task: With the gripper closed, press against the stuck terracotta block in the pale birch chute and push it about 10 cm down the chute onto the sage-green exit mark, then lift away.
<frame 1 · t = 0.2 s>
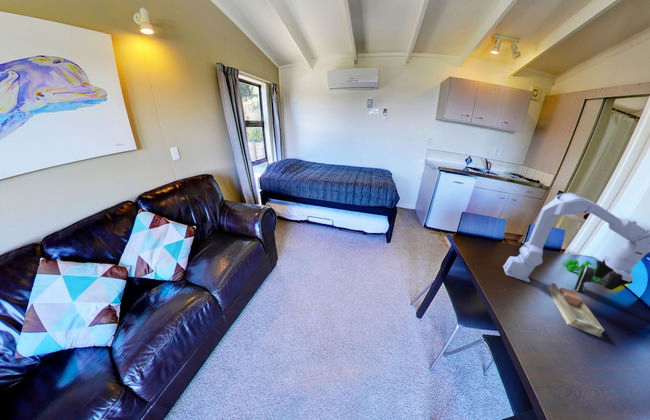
hand: (602, 282, 88), 10 cm above the table, fingers open, 7 cm apart
chute: (570, 309, 86), on the table
jammed block: (569, 296, 89), point 3 cm above the table, slide at 0.0 cm
green irregular lump: (580, 272, 110), on the table
battery charger: (580, 289, 97), on the table
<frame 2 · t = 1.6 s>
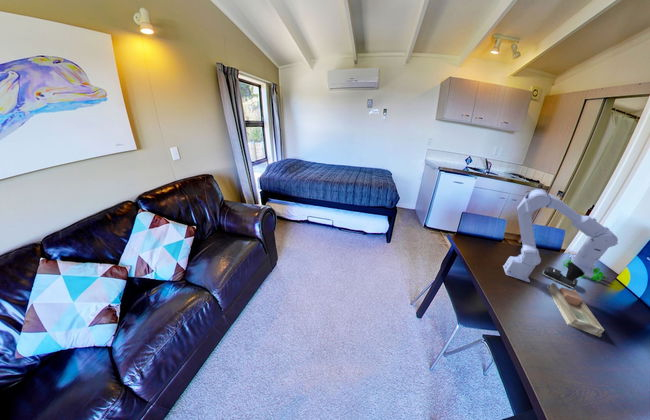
hand: (569, 279, 92), 8 cm above the table, fingers closed
battery charger: (577, 284, 98), point 2 cm above the table
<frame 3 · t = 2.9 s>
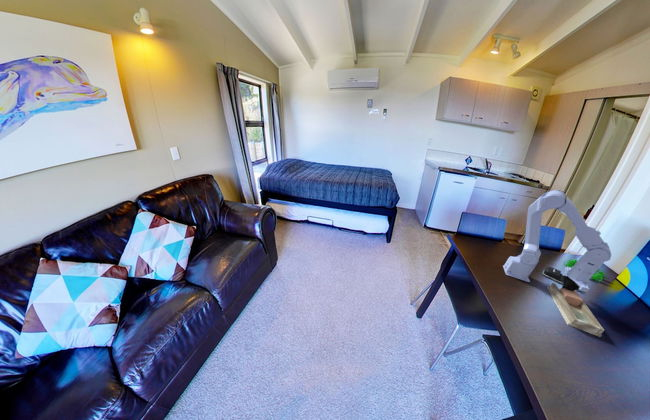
hand: (564, 292, 92), 2 cm above the table, fingers closed
jammed block: (569, 296, 89), point 3 cm above the table, slide at 0.3 cm, touching gripper
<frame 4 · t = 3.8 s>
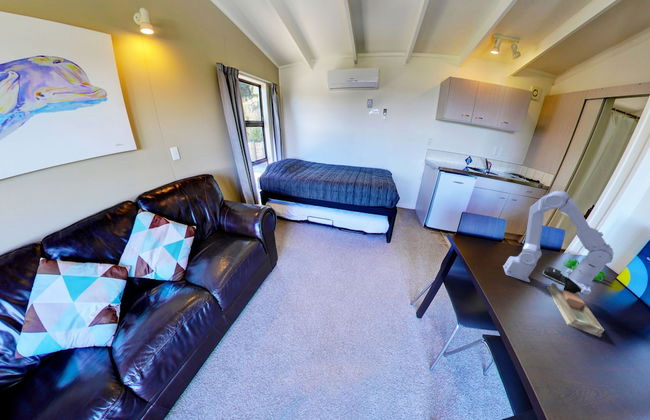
hand: (566, 294, 91), 2 cm above the table, fingers closed
jammed block: (571, 299, 87), point 3 cm above the table, slide at 1.8 cm, touching gripper
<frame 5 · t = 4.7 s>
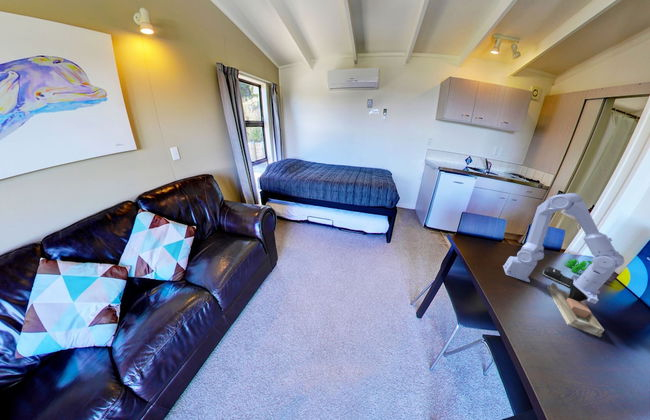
hand: (571, 302, 87), 2 cm above the table, fingers closed
jammed block: (576, 307, 84), point 3 cm above the table, slide at 6.8 cm, touching gripper
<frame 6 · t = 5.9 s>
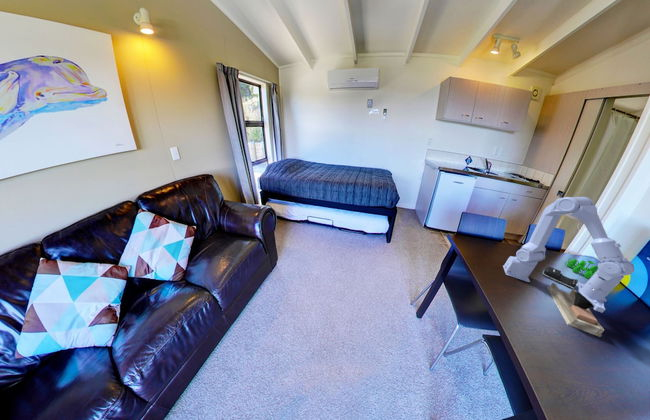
hand: (576, 310, 83), 2 cm above the table, fingers closed
jammed block: (581, 315, 80), point 3 cm above the table, slide at 11.1 cm, touching gripper
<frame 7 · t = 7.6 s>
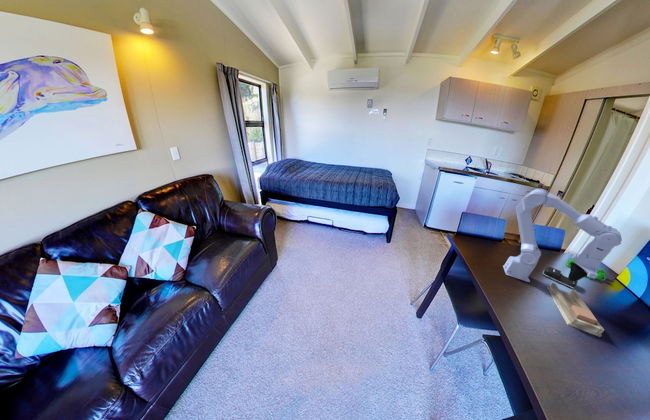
hand: (571, 279, 89), 9 cm above the table, fingers closed
jammed block: (581, 315, 80), point 3 cm above the table, slide at 11.1 cm
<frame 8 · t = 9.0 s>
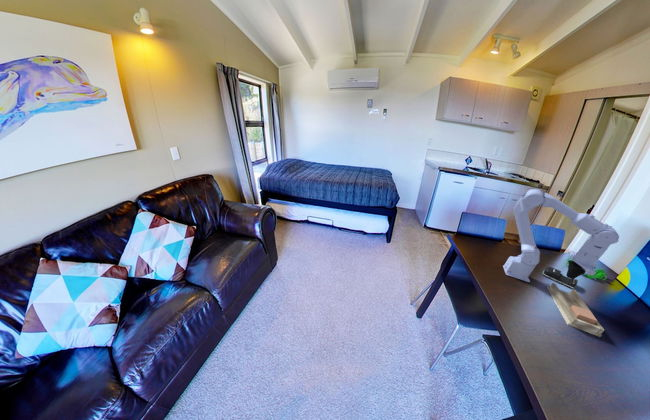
hand: (569, 277, 90), 9 cm above the table, fingers closed
at the end: jammed block slide at 11.1 cm; battery charger moved 2.7 cm from its start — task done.
